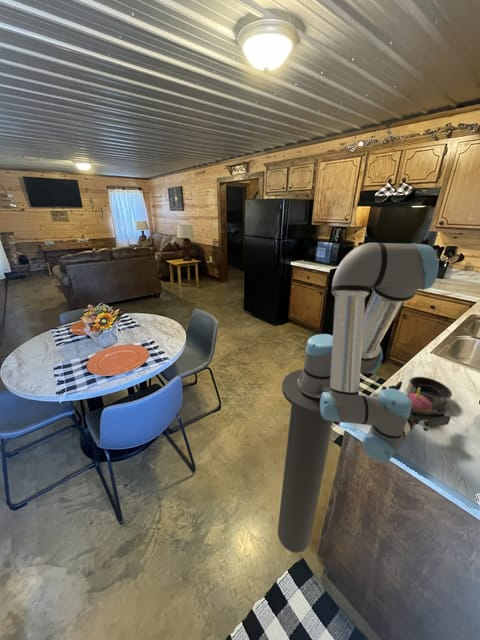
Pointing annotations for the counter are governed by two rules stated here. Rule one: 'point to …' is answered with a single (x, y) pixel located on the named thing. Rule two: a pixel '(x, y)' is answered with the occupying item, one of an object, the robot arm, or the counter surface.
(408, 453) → the counter surface
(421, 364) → the counter surface
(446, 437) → the counter surface
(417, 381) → the dark round bowl
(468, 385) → the counter surface
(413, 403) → the cupcake
